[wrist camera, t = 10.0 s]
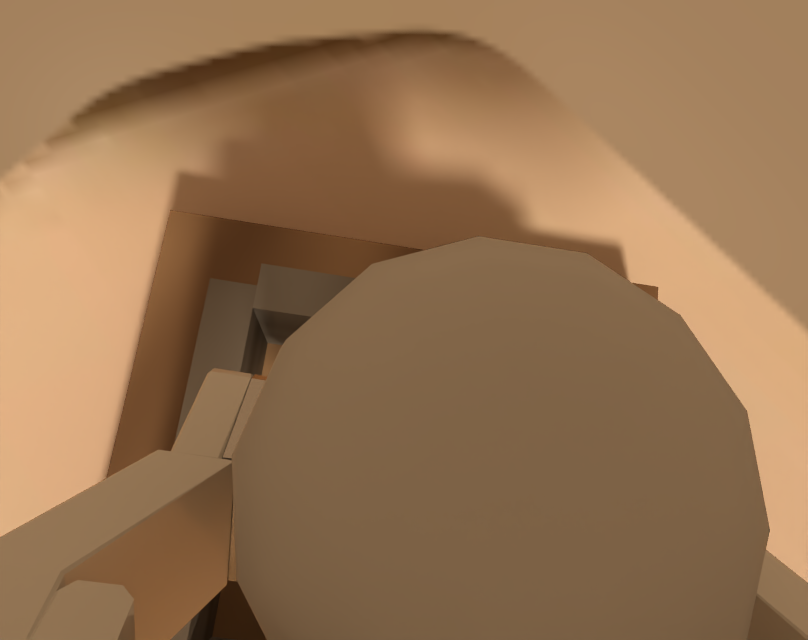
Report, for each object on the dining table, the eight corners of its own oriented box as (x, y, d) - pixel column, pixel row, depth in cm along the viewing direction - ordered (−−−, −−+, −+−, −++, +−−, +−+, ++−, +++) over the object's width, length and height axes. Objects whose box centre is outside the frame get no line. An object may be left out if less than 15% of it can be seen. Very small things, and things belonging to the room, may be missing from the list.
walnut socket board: (634, 303, 26) (720, 243, 20) (608, 814, 21) (709, 928, 16) (183, 233, 25) (136, 148, 19) (64, 749, 20) (-44, 844, 15)
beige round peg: (261, 389, 18) (97, 110, 5) (487, 374, 18) (819, 92, 6) (272, 643, 16) (79, 1089, 4) (516, 616, 17) (1031, 922, 4)
